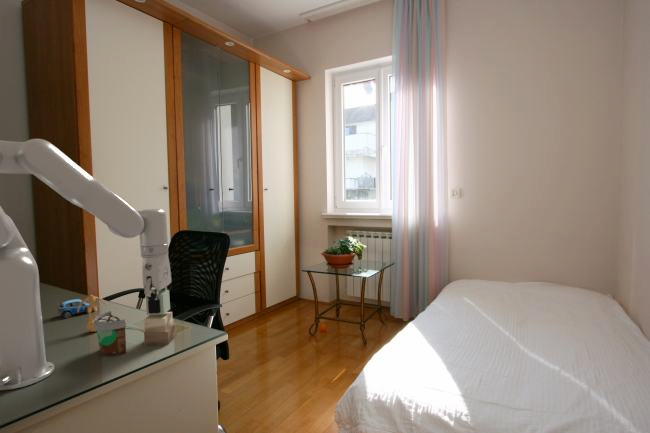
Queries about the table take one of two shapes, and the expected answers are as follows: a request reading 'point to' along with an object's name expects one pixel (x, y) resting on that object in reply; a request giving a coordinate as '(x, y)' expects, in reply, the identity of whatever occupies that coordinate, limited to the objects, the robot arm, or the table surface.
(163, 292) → the green block
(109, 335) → the food container
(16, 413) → the table surface
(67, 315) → the toy car
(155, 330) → the birch block
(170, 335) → the walnut block
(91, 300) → the figurine
